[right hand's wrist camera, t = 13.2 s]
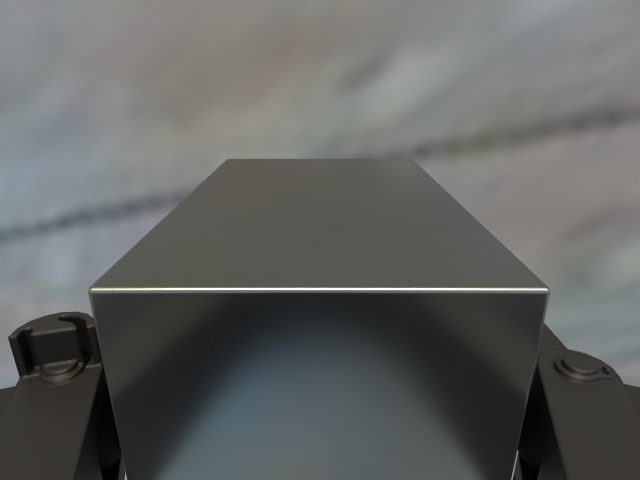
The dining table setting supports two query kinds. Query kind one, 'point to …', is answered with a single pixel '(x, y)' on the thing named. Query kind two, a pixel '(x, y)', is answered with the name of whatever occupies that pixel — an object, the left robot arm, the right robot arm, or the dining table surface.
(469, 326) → the box
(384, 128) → the dining table surface
